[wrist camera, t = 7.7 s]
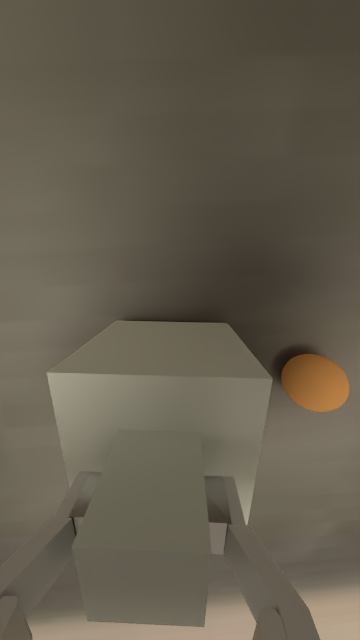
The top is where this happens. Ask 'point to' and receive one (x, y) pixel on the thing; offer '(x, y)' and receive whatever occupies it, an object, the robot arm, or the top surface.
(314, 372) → the ball
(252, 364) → the pale sage box
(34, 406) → the top surface
